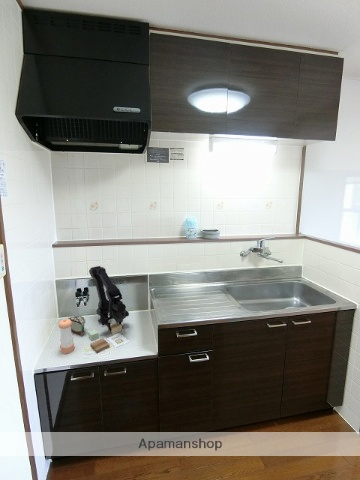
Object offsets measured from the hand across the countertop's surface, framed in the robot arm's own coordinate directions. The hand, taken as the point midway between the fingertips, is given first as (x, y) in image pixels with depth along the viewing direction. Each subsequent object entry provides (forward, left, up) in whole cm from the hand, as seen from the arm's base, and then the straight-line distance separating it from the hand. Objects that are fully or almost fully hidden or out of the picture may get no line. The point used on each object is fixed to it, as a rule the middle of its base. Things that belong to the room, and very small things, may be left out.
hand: (114, 328), depth 164 cm
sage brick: (-1, -14, -1) cm, 14 cm away
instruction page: (+11, -4, -1) cm, 12 cm away
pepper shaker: (0, -30, -1) cm, 30 cm away
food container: (-13, -18, -1) cm, 22 cm away
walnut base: (+10, -15, -2) cm, 18 cm away
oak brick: (0, 0, -1) cm, 1 cm away
